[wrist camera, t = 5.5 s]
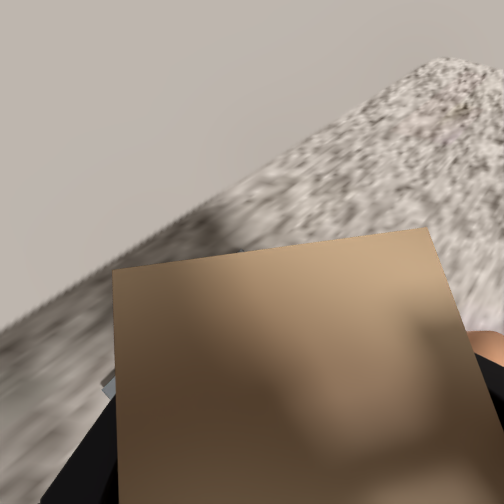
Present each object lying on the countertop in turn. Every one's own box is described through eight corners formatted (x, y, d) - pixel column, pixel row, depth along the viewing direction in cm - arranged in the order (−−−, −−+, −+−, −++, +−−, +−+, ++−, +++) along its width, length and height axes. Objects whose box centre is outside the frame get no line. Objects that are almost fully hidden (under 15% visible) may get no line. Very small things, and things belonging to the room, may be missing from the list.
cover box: (334, 425, 14) (573, 620, 4) (198, 458, 13) (127, 804, 3) (304, 291, 16) (427, 227, 6) (183, 311, 15) (112, 269, 5)
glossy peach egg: (493, 355, 19) (532, 358, 17) (471, 398, 18) (509, 407, 16) (452, 320, 20) (483, 318, 17) (428, 360, 19) (458, 364, 16)
